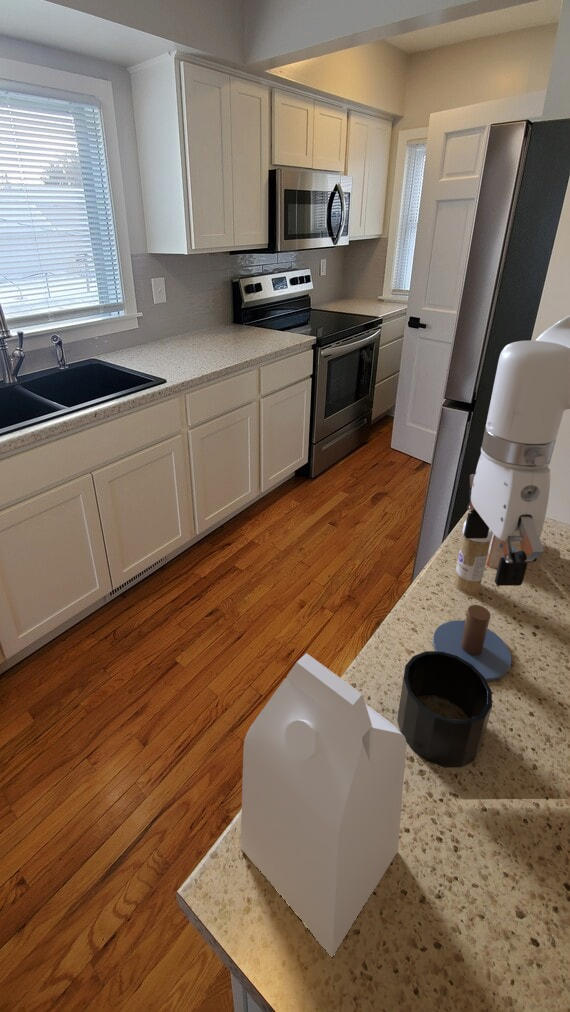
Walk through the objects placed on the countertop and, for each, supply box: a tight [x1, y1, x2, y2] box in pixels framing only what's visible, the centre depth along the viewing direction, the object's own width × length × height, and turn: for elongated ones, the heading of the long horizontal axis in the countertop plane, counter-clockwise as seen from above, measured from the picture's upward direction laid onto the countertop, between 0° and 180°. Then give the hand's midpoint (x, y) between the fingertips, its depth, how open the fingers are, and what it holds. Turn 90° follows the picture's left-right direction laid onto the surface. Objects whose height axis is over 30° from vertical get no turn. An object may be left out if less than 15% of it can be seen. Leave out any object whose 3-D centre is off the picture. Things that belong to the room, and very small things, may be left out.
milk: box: [239, 652, 407, 958], centre depth 46 cm, size 12×12×26 cm
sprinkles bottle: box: [452, 519, 493, 595], centre depth 83 cm, size 5×5×13 cm
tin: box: [396, 650, 493, 769], centre depth 61 cm, size 10×10×8 cm
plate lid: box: [432, 604, 512, 682], centre depth 72 cm, size 11×11×8 cm
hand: (490, 559), depth 66 cm, fingers open, 9 cm apart
